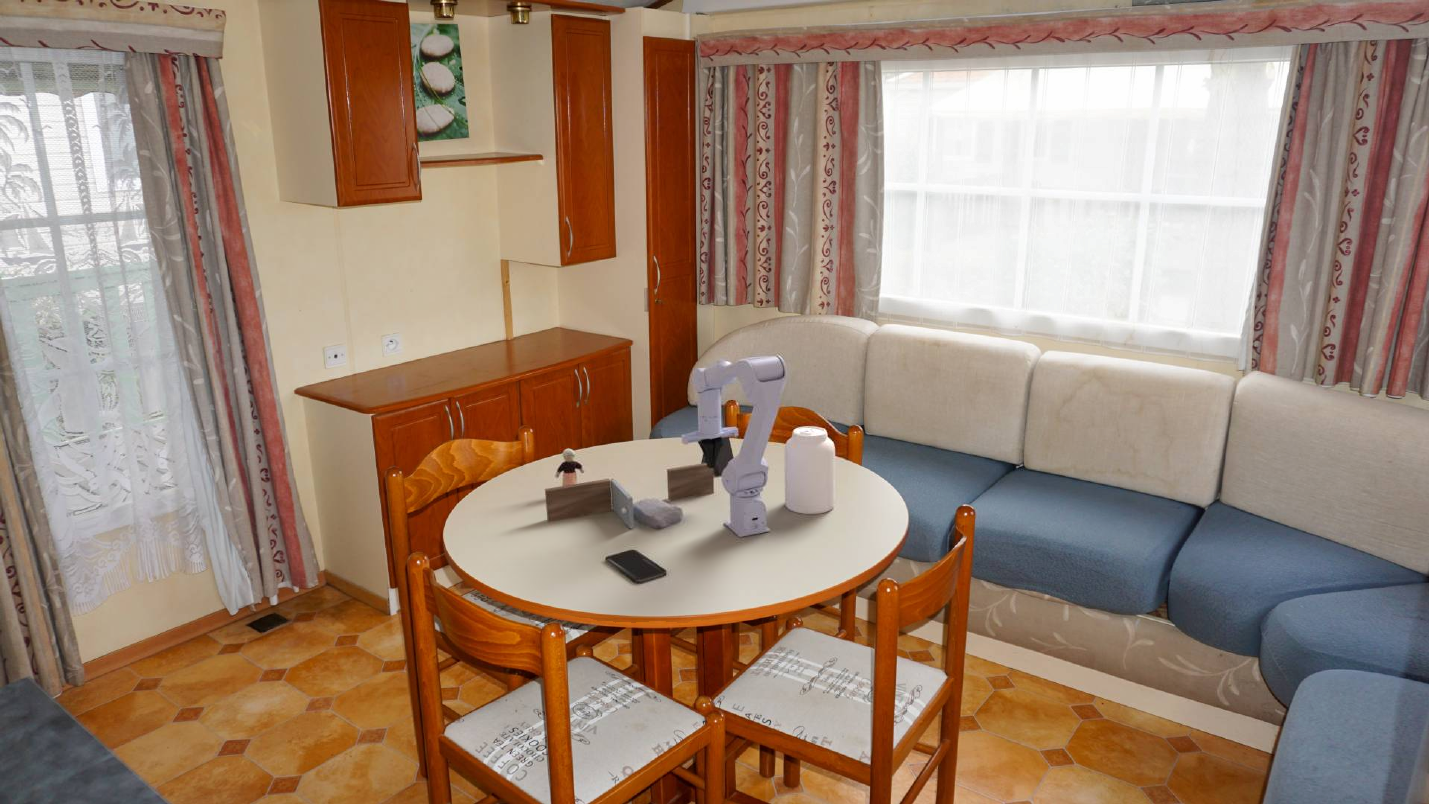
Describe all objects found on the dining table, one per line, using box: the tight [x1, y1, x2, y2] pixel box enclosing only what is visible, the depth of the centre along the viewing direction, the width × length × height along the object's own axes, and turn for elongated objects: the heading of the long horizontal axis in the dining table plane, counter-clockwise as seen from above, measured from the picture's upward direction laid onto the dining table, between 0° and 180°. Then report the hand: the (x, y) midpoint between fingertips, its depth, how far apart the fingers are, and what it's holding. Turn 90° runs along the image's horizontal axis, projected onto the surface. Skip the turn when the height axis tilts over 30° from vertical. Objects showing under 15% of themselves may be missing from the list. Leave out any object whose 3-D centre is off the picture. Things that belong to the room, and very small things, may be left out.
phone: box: [605, 549, 667, 585], centre depth 215 cm, size 8×1×15 cm
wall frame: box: [544, 463, 715, 522], centre depth 249 cm, size 2×44×8 cm, turn 113°
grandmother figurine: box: [554, 447, 585, 486], centre depth 258 cm, size 8×4×13 cm, turn 123°
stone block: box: [633, 498, 684, 530], centre depth 242 cm, size 12×5×10 cm
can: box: [784, 425, 836, 515], centre depth 245 cm, size 12×12×20 cm
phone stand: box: [700, 426, 735, 477], centre depth 273 cm, size 9×6×12 cm, turn 36°
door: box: [610, 478, 635, 529], centre depth 241 cm, size 15×2×8 cm, turn 23°
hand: (711, 467), depth 246 cm, fingers closed
